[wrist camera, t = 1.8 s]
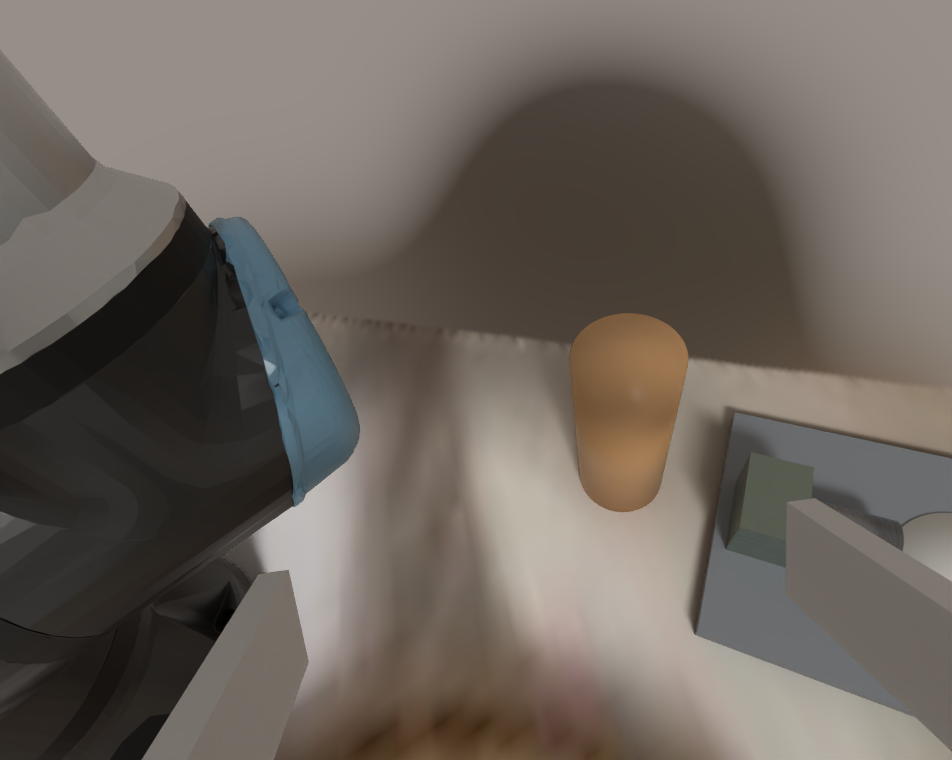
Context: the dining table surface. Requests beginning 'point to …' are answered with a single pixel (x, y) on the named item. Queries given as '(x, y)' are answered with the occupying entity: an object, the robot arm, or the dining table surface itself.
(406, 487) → the dining table surface
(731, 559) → the plate
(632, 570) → the dining table surface
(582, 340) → the orange cylinder
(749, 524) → the shaft
